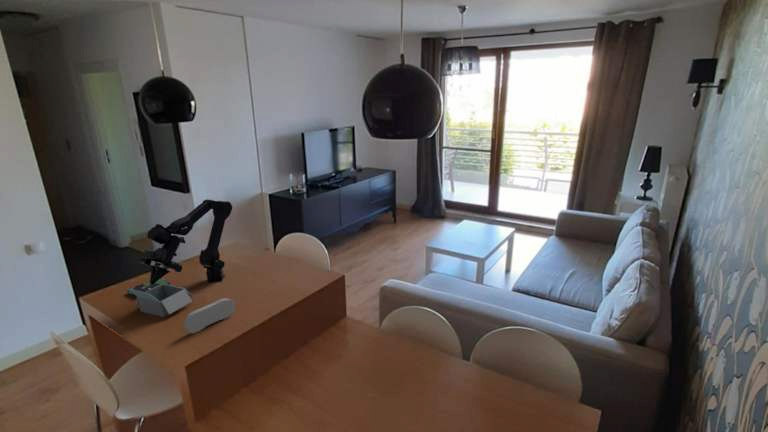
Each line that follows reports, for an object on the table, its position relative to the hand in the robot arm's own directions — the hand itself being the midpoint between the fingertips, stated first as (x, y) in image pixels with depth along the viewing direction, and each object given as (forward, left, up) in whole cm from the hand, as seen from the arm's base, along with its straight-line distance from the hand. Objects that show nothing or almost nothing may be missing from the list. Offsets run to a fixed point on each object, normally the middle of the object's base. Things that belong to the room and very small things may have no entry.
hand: (151, 284), depth 158 cm
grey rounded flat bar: (-26, +14, -13) cm, 33 cm away
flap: (+2, +4, -3) cm, 5 cm away
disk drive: (+13, -22, -13) cm, 28 cm away
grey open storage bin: (-2, -4, -13) cm, 13 cm away
